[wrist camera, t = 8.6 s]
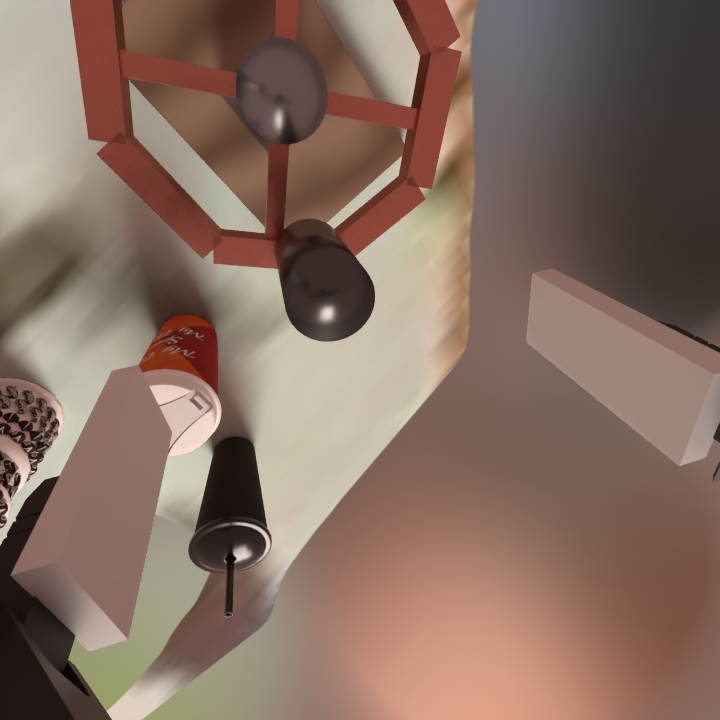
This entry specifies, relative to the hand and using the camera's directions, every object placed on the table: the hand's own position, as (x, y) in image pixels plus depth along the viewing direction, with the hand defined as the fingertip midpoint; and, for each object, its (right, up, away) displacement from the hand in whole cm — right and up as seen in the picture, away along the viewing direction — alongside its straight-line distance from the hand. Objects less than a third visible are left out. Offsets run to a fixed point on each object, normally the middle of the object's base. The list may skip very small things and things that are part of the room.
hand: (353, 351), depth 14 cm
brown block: (-7, +21, +21) cm, 30 cm away
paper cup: (-18, +2, +29) cm, 34 cm away
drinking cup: (-15, -12, +38) cm, 42 cm away
